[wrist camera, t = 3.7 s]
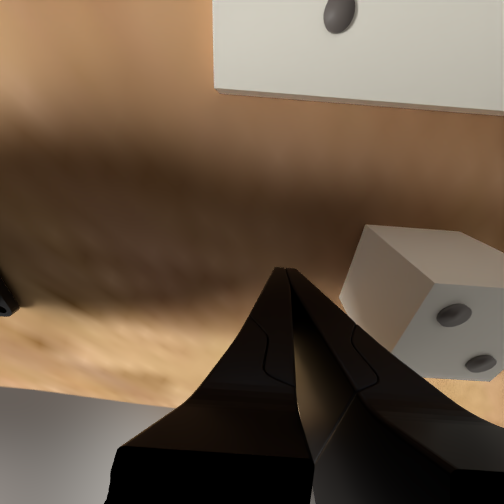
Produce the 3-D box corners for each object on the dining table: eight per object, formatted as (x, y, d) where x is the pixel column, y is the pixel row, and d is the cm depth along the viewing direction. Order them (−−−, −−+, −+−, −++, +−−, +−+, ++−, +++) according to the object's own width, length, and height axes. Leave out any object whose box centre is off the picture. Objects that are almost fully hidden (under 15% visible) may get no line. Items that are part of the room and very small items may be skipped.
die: (416, 303, 11) (493, 386, 7) (337, 297, 11) (377, 378, 7) (460, 230, 9) (598, 296, 5) (364, 223, 9) (437, 285, 5)
